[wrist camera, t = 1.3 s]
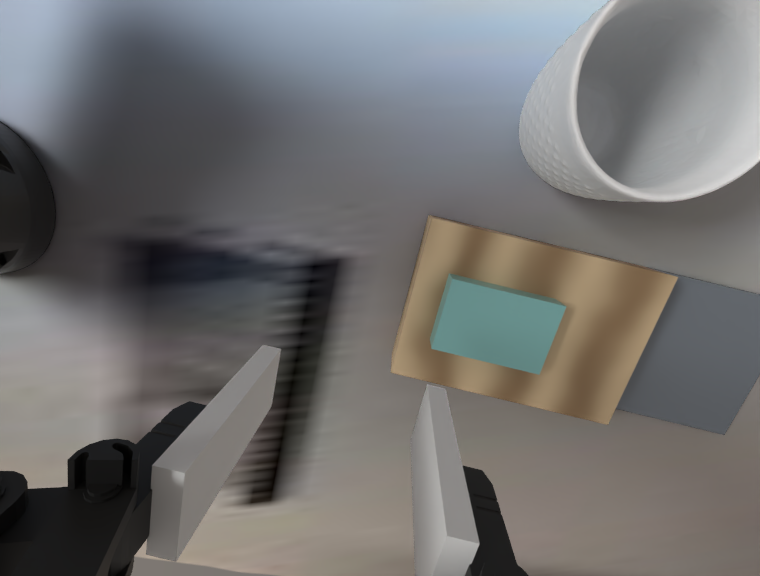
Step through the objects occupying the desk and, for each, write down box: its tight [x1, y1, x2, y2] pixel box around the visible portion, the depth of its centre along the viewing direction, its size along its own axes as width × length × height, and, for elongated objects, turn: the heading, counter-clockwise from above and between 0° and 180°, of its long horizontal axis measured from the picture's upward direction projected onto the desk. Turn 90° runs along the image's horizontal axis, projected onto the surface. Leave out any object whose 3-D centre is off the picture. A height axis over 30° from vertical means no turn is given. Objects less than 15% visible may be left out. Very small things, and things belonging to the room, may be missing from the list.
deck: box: [391, 215, 678, 425], centre depth 32 cm, size 20×14×4 cm
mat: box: [616, 268, 760, 435], centre depth 34 cm, size 14×14×1 cm
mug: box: [519, 0, 760, 202], centre depth 23 cm, size 15×11×13 cm
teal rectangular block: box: [430, 273, 567, 375], centre depth 29 cm, size 9×6×2 cm, turn 77°
